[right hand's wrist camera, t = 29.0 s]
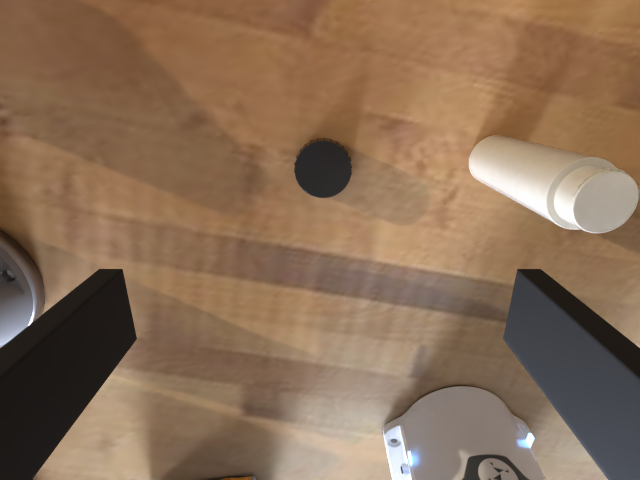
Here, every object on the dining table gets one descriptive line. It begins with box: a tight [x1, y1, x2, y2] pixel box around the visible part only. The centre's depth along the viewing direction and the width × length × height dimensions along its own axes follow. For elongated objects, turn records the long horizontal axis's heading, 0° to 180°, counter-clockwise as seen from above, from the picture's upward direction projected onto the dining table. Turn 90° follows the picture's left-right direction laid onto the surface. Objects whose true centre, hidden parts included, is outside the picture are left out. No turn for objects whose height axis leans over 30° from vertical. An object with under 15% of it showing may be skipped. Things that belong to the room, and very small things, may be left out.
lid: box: [294, 138, 352, 198], centre depth 37 cm, size 5×6×2 cm
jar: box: [469, 135, 639, 233], centre depth 30 cm, size 5×5×16 cm
